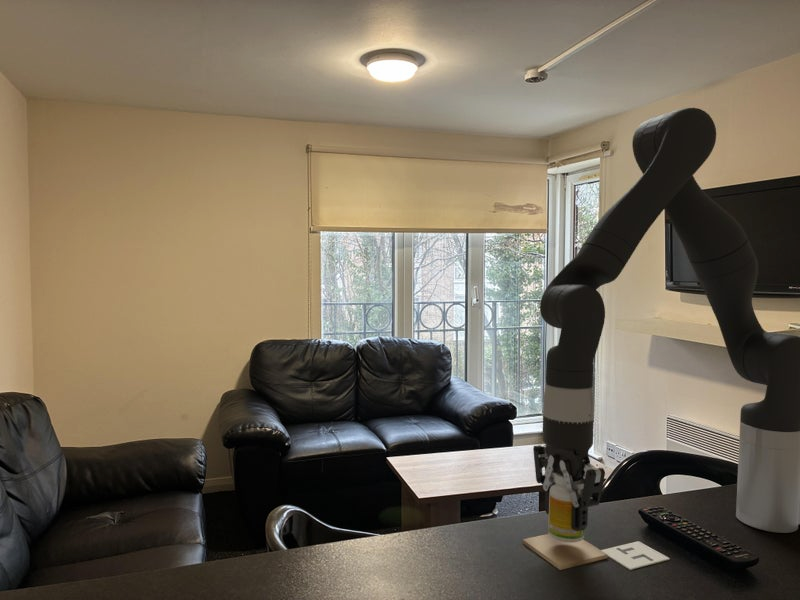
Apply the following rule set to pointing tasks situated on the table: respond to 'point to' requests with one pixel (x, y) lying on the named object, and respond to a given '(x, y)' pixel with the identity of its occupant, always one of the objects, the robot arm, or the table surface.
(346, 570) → the table surface
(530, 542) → the oak coaster
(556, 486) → the supplement bottle
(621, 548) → the tile
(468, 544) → the table surface
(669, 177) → the robot arm
